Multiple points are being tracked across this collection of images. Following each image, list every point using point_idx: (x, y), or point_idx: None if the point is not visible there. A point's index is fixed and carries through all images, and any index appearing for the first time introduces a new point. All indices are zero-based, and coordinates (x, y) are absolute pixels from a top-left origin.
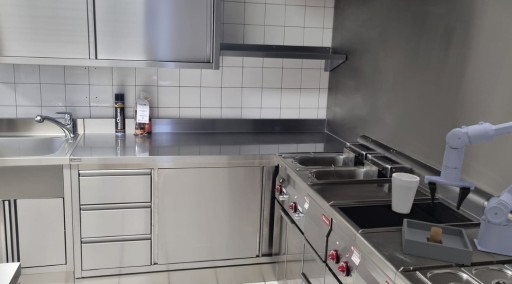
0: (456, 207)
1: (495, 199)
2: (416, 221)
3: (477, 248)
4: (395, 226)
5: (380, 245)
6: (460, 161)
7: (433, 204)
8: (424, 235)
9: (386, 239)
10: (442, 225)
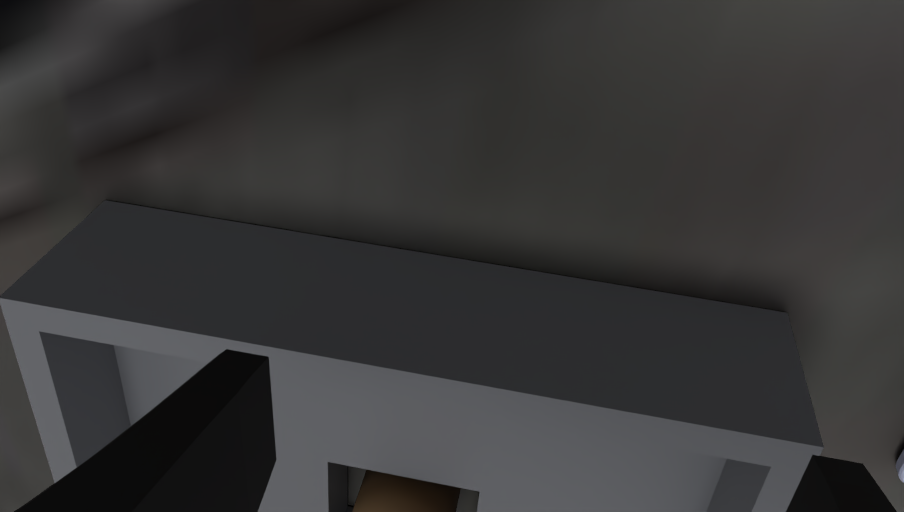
0: (807, 496)
1: None
2: (163, 351)
3: (901, 455)
4: (6, 57)
5: (12, 501)
6: None
7: (251, 502)
8: (311, 430)
9: (20, 405)
10: (510, 402)
